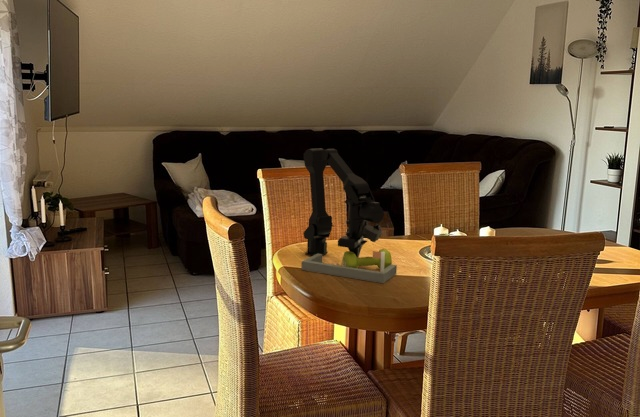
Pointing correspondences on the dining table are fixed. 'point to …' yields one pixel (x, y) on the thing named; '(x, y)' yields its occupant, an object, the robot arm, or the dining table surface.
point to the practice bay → (350, 269)
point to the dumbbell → (365, 260)
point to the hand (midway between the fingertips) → (355, 261)
